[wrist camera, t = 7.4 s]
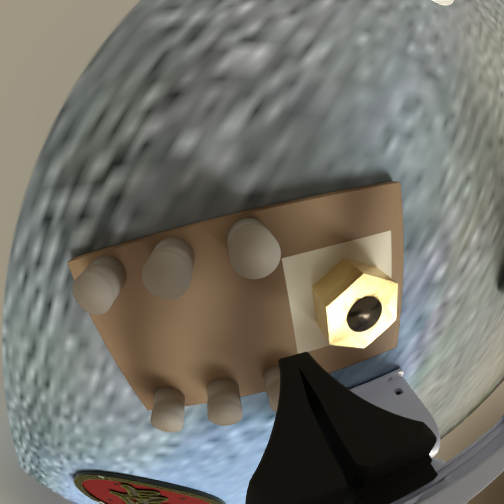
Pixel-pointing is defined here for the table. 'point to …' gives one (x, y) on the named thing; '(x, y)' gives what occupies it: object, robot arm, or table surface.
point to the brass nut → (354, 303)
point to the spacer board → (235, 298)
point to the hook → (443, 2)
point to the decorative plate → (137, 490)
